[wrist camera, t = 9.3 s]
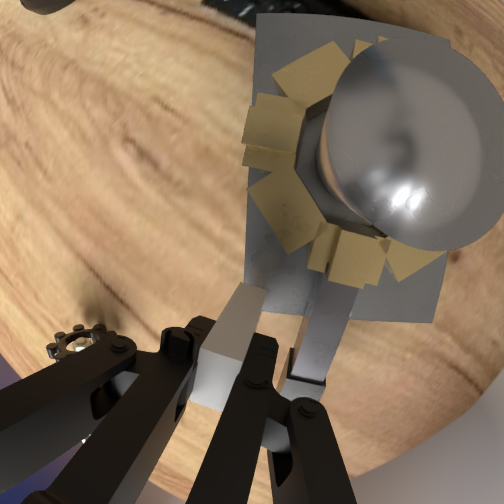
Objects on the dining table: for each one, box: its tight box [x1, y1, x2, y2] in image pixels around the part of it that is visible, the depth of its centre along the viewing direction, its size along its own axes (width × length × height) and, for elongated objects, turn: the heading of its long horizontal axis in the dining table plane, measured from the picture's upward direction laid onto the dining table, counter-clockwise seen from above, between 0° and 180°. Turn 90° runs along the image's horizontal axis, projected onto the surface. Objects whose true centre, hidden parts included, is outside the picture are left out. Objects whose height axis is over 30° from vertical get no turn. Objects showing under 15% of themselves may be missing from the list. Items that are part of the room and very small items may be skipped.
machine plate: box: [244, 13, 504, 323], centre depth 11 cm, size 18×12×13 cm, turn 177°
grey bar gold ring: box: [241, 36, 447, 402], centre depth 14 cm, size 11×21×4 cm, turn 168°
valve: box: [46, 324, 117, 443], centre depth 23 cm, size 7×7×12 cm
